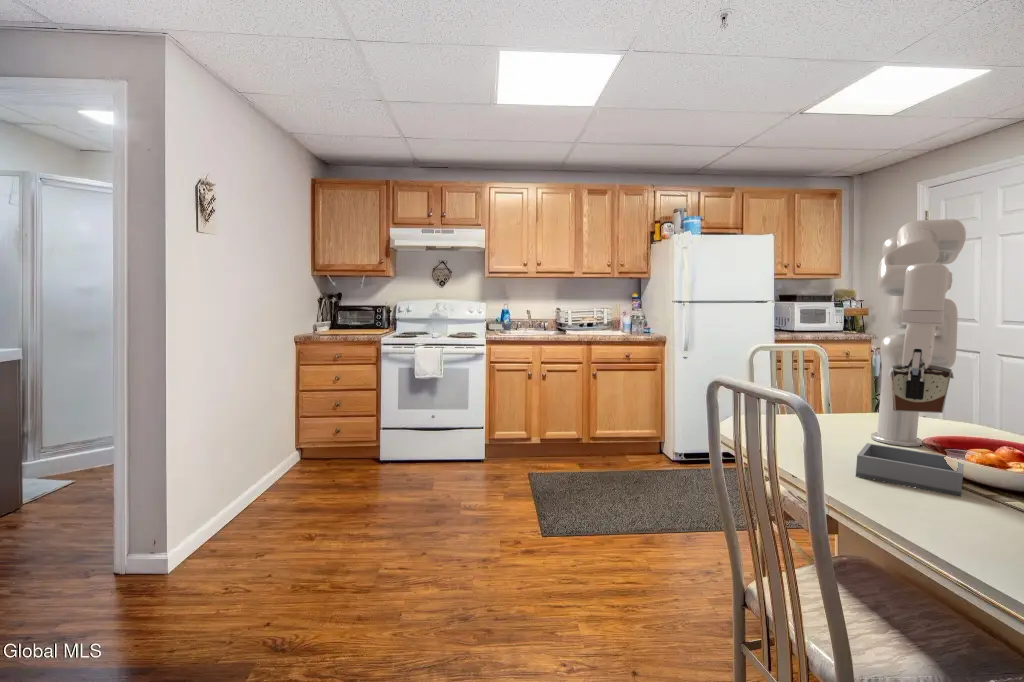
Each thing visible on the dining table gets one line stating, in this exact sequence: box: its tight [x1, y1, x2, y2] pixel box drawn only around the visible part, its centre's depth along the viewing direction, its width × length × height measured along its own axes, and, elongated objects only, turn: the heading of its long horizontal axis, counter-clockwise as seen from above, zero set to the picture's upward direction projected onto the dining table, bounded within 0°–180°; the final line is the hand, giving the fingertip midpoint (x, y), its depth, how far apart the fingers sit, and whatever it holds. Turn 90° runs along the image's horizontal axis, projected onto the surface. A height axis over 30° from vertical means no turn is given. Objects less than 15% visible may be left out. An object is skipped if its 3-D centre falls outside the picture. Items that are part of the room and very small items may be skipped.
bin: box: [855, 442, 965, 498], centre depth 127 cm, size 15×19×5 cm
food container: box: [888, 364, 954, 414], centre depth 126 cm, size 12×6×10 cm, turn 74°
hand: (915, 396), depth 126 cm, fingers closed on food container, 6 cm apart
